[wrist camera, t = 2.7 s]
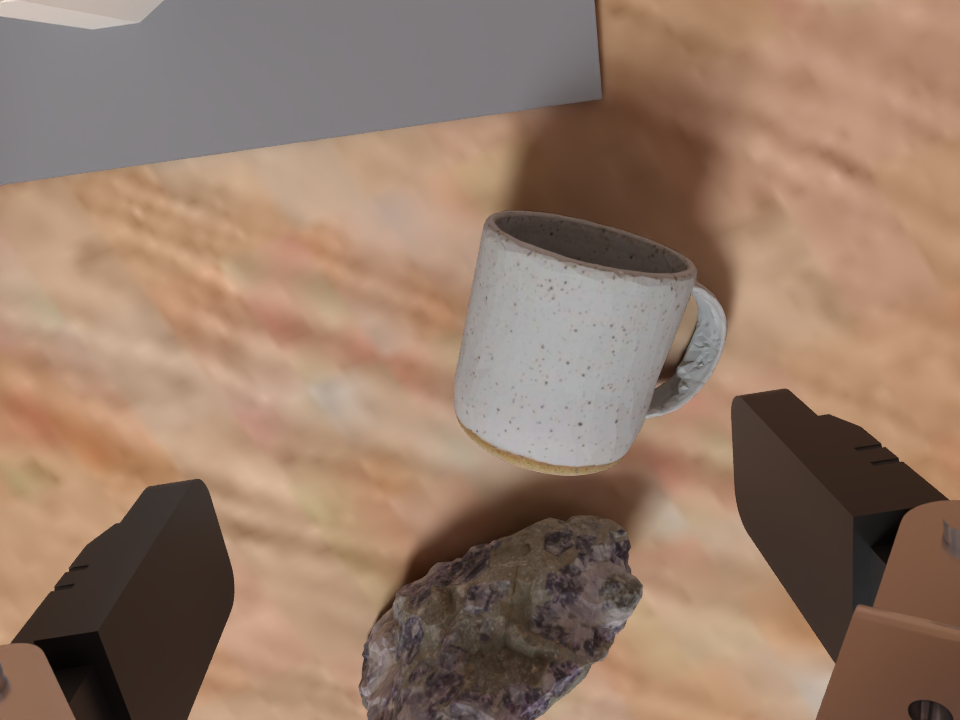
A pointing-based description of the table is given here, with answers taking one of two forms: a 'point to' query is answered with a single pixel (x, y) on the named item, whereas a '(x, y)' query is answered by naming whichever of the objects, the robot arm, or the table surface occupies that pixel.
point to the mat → (277, 76)
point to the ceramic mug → (576, 341)
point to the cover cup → (80, 11)
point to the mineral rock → (502, 625)
